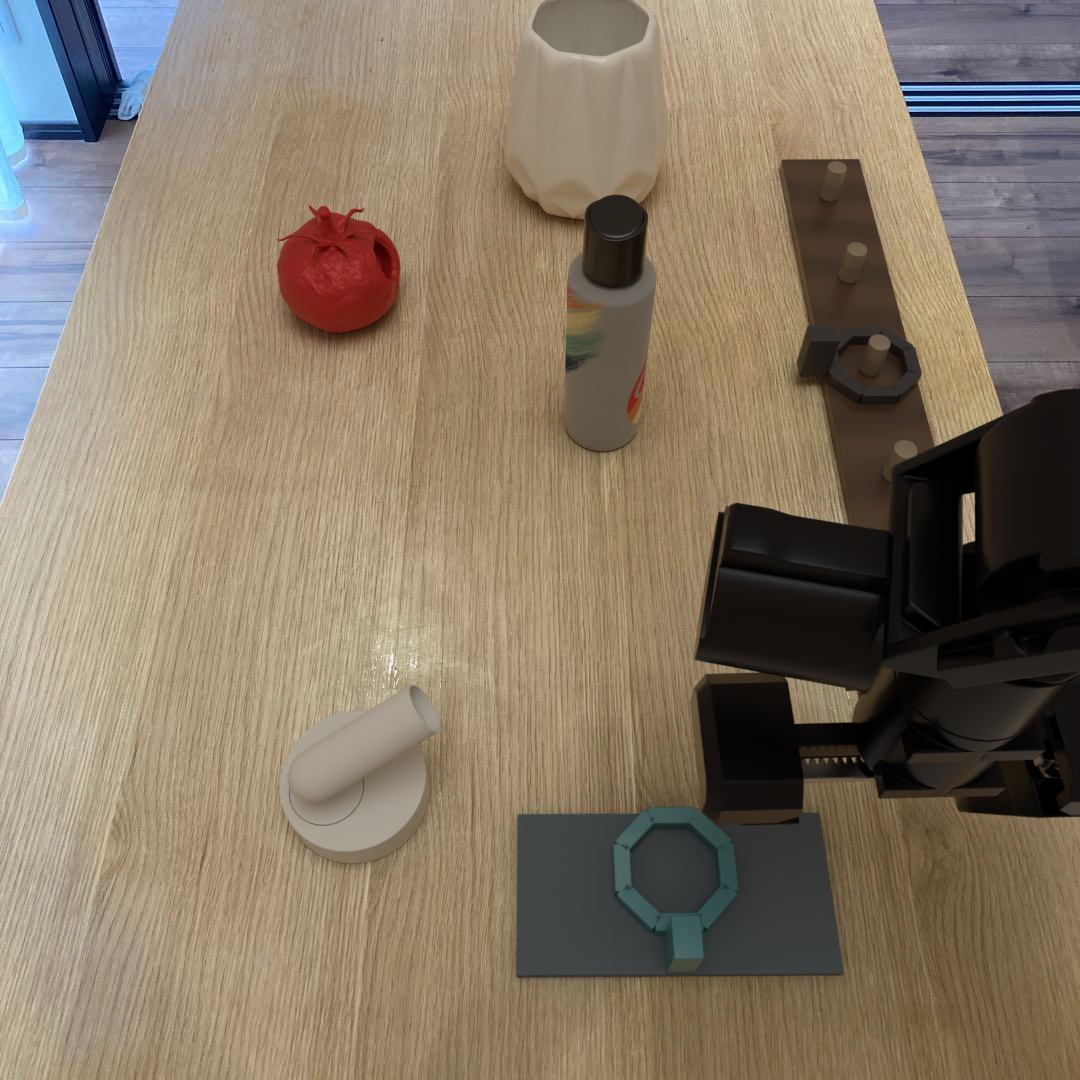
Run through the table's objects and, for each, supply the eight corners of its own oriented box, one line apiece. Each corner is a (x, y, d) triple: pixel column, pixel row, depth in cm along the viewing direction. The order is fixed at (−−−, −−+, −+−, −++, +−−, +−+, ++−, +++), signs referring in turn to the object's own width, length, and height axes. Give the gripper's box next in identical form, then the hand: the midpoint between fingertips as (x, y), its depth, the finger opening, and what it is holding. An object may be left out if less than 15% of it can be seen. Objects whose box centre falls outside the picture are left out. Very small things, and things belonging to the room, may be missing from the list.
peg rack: (952, 541, 72) (973, 508, 69) (852, 542, 72) (868, 509, 69) (856, 169, 94) (868, 129, 90) (779, 170, 94) (788, 129, 90)
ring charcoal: (906, 335, 81) (921, 297, 78) (924, 403, 78) (941, 367, 74) (791, 335, 81) (802, 298, 78) (804, 404, 78) (816, 368, 74)
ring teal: (610, 812, 62) (614, 790, 58) (727, 811, 62) (738, 789, 58) (617, 973, 57) (621, 959, 53) (744, 972, 57) (757, 958, 53)
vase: (563, 257, 88) (566, 97, 75) (477, 167, 94) (466, 5, 81) (694, 196, 92) (718, 35, 79) (603, 114, 98) (611, -48, 85)
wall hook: (461, 763, 54) (275, 839, 52) (472, 819, 62) (311, 887, 60) (406, 629, 58) (232, 694, 56) (423, 697, 66) (271, 757, 64)
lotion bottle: (644, 401, 79) (671, 187, 62) (631, 459, 76) (656, 250, 59) (572, 388, 80) (579, 173, 63) (556, 445, 77) (559, 235, 60)
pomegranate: (318, 367, 81) (294, 278, 73) (265, 290, 86) (237, 199, 78) (428, 317, 84) (416, 227, 76) (371, 246, 89) (354, 154, 81)
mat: (817, 815, 62) (819, 812, 62) (841, 975, 57) (844, 973, 57) (518, 816, 62) (517, 813, 62) (516, 977, 57) (516, 975, 57)
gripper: (1148, 485, 43) (1010, 653, 56) (697, 498, 43) (666, 663, 56) (1254, 740, 37) (1072, 861, 50) (729, 754, 37) (685, 871, 50)
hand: (866, 803), depth 52 cm, fingers open, 9 cm apart
